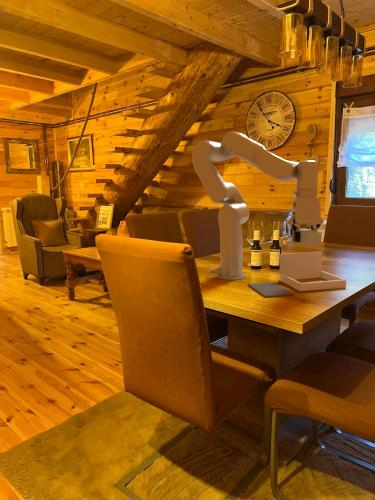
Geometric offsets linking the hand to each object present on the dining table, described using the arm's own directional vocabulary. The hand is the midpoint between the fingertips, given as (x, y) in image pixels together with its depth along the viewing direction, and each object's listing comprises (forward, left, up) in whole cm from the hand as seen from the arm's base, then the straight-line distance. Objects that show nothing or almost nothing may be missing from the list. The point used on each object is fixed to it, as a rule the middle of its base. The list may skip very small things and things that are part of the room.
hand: (304, 241), depth 144 cm
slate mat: (-16, -5, -17) cm, 24 cm away
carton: (+3, -1, -17) cm, 17 cm away
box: (0, -1, -1) cm, 1 cm away
